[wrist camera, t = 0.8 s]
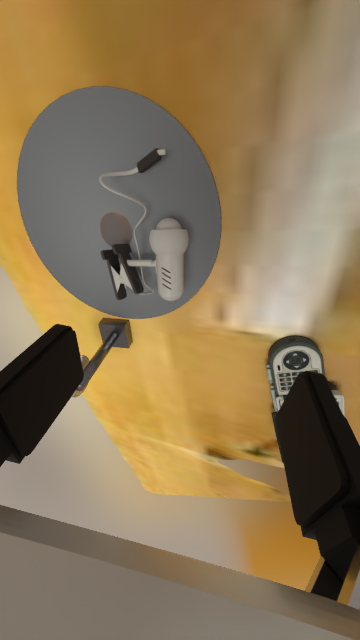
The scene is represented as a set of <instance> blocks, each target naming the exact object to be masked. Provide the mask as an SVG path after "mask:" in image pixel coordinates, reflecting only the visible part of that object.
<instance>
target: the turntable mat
mask: <svg viewBox="0 0 360 640" xmlns="http://www.w3.org/2000/svg"><path fill="white" fill-rule="evenodd" d="M155 148H158V149H165V150H166V155H161V157H162V159H161V160H160V161H159V162H157V163H156V164H154V165H153V166H152V167H150V168H149V169H147V170H146V171H145V172H143V173H139V172H138V173H135V174H132V175H125V176H110V177H105V178H103V182H104V183H105V184H106V185H107V186H109V187H110V188H112V189H114V190H116V191H119V192H121V193H123V194H126V195H128V196H131V197H133V198H135V199H137V200H139V201H140V202H142V203H144V204H145V206H146V207H147V214H146V217H145V218H144V220H143V221H142V222H141V224H140V225H139V227H138V228H137V230H136V238H137V241H138V245H139V250H140V255H141V260H154V261H155V260H156V254H155V253H154V252H153V250H152V248H151V246H150V241H149V236H150V232H151V230H156V227H157V225H158V223H159V222H160V221H161V220H162V219H164V218H173V219H175V220H177V221H178V222H179V224H180V225H181V228H182V229H186V230H187V232H188V236H189V242H188V246H187V249H186V251H185V252H184V253H183V256H184V291H183V294H182V295H181V297H180V298H178V299H177V300H174V301H167V300H165V299H163V298H162V297H161V296H160V295H159V293H158V282H157V273H156V267H148V266H142V268H143V275H144V280H145V283H146V284H147V285H148V286H149V287H151V288H152V289H153V290H154V292H153V293H151V294H146V295H142V294H135V293H134V292H133V290H132V289H131V288H129V287H128V286H127V287H126V293H127V297H126V298H124V299H122V300H117V299H116V296H115V292H114V288H113V284H112V281H111V277H110V273H109V269H108V265H107V261H106V260H103V259H102V256H101V253H100V252H101V251H102V250H111V249H112V245H114V244H129V246H130V248H131V252H130V256H131V258H132V260H139V255H138V250H137V246H136V242H135V238H134V229H135V227H136V225H137V224H138V222H139V221H140V220H141V218H142V217H143V216H144V213H145V208H144V207H143V206H142V205H140V204H139V203H137V202H135V201H132V200H130V199H128V198H125V197H123V196H120V195H118V194H116V193H114V192H112V191H110V190H108V189H107V188H105V187H104V186H102V184H101V183H100V182H99V177H100V176H101V175H102V174H105V173H110V172H121V171H128V170H132V169H135V168H136V167H137V163H138V162H139V161H140V160H141V159H143V158H144V157H145V156H146V155H148V154H149V153H150V152H151V151H153V150H154V149H155ZM17 191H18V202H19V206H20V211H21V216H22V219H23V223H24V226H25V229H26V231H27V234H28V236H29V239H30V241H31V243H32V245H33V247H34V249H35V251H36V253H37V254H38V256H39V258H40V259H41V261H42V262H43V264H44V265H45V267H46V268H47V269H48V270H49V272H50V273H51V274H52V275H53V277H54V278H55V279H56V280H57V281H58V282H59V283H60V284H61V285H62V286H63V287H64V288H65V289H66V290H68V291H69V292H70V293H71V294H72V295H74V296H75V297H76V298H78V299H79V300H81V301H82V302H84V303H86V304H87V305H89V306H91V307H93V308H95V309H97V310H99V311H101V312H104V313H107V314H110V315H114V316H118V317H123V318H130V319H144V318H152V317H157V316H161V315H164V314H167V313H169V312H172V311H173V310H175V309H177V308H179V307H181V306H182V305H183V304H185V303H186V302H188V301H189V300H190V299H191V298H192V297H193V296H194V295H195V294H196V293H197V292H198V291H199V289H200V288H201V287H202V286H203V284H204V283H205V281H206V279H207V278H208V276H209V274H210V272H211V270H212V268H213V265H214V263H215V260H216V256H217V253H218V249H219V243H220V236H221V211H220V202H219V197H218V193H217V189H216V185H215V181H214V179H213V176H212V173H211V171H210V168H209V165H208V163H207V162H206V160H205V158H204V156H203V154H202V152H201V150H200V148H199V147H198V146H197V144H196V143H195V141H194V140H193V138H192V137H191V136H190V134H189V133H188V132H187V131H186V130H185V129H184V127H183V126H182V125H181V124H180V123H179V122H178V121H177V120H176V119H175V118H174V117H173V116H172V115H170V114H169V113H168V112H167V111H165V110H164V109H163V108H162V107H161V106H159V105H157V104H156V103H154V102H152V101H150V100H149V99H147V98H145V97H144V96H141V95H138V94H136V93H133V92H131V91H128V90H124V89H119V88H114V87H88V88H83V89H78V90H75V91H72V92H70V93H68V94H65V95H63V96H61V97H60V98H58V99H57V100H55V101H54V102H52V103H51V104H49V105H48V106H47V107H46V108H45V109H44V110H43V111H42V113H41V114H40V115H39V116H38V117H37V119H36V120H35V122H34V123H33V124H32V126H31V127H30V129H29V131H28V134H27V136H26V138H25V140H24V143H23V146H22V150H21V153H20V157H19V163H18V171H17ZM118 259H119V263H120V265H121V261H120V258H118ZM135 268H136V270H137V273H138V275H139V278H140V280H141V283H142V285H143V288H144V291H143V292H150V291H152V290H151V289H149V288H148V287H147V286H145V284H144V282H143V279H142V274H141V268H140V266H135Z"/></svg>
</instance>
